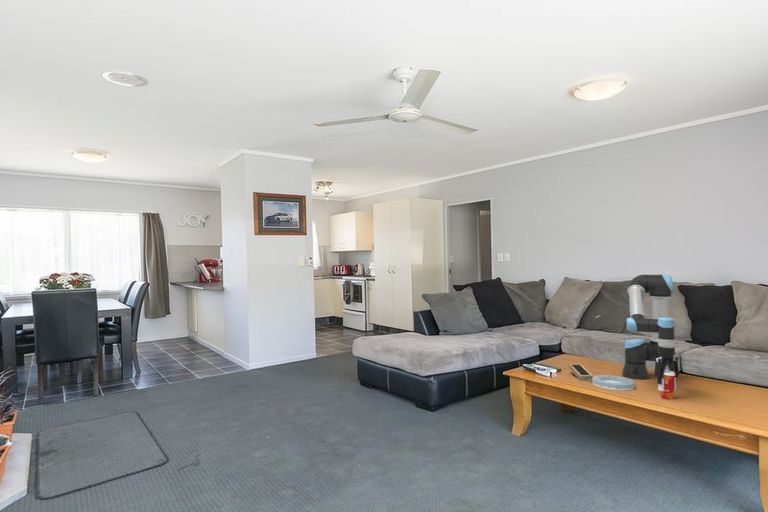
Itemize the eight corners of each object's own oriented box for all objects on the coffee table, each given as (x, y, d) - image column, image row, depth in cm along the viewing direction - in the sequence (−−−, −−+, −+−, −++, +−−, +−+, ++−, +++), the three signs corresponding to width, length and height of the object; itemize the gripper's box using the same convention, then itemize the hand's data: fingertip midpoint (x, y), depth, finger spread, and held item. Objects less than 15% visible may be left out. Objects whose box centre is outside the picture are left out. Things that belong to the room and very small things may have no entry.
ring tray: (612, 379, 271) (612, 374, 271) (643, 388, 250) (643, 383, 250) (584, 381, 264) (583, 376, 264) (613, 391, 243) (613, 386, 243)
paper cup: (655, 395, 237) (655, 369, 237) (669, 395, 236) (669, 369, 237) (664, 399, 229) (663, 372, 229) (679, 399, 229) (678, 373, 229)
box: (580, 370, 286) (580, 363, 286) (596, 385, 264) (596, 378, 263) (567, 370, 286) (567, 363, 286) (582, 386, 264) (583, 378, 263)
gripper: (658, 349, 227) (658, 393, 226) (687, 346, 233) (688, 390, 232) (645, 346, 234) (646, 389, 233) (674, 344, 240) (674, 386, 239)
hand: (667, 389), depth 233 cm, fingers closed on paper cup, 8 cm apart
